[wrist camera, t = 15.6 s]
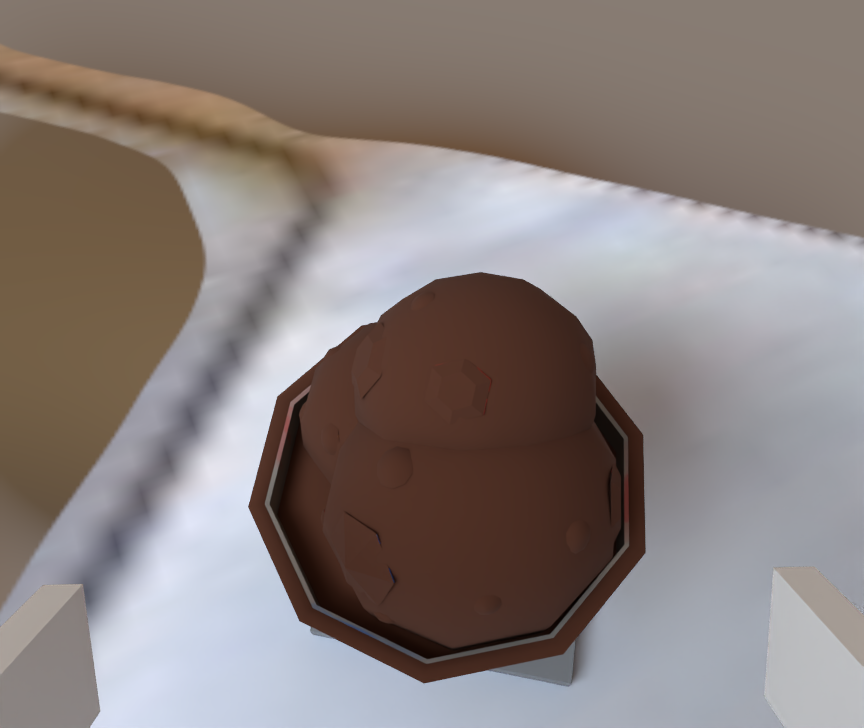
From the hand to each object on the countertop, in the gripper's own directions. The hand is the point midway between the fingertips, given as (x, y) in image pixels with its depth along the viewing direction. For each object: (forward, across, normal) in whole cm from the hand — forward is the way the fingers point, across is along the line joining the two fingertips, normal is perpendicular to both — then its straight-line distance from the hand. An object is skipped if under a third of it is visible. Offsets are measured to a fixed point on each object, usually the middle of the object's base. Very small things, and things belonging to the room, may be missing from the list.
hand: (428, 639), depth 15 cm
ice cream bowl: (+14, 0, -6) cm, 15 cm away
